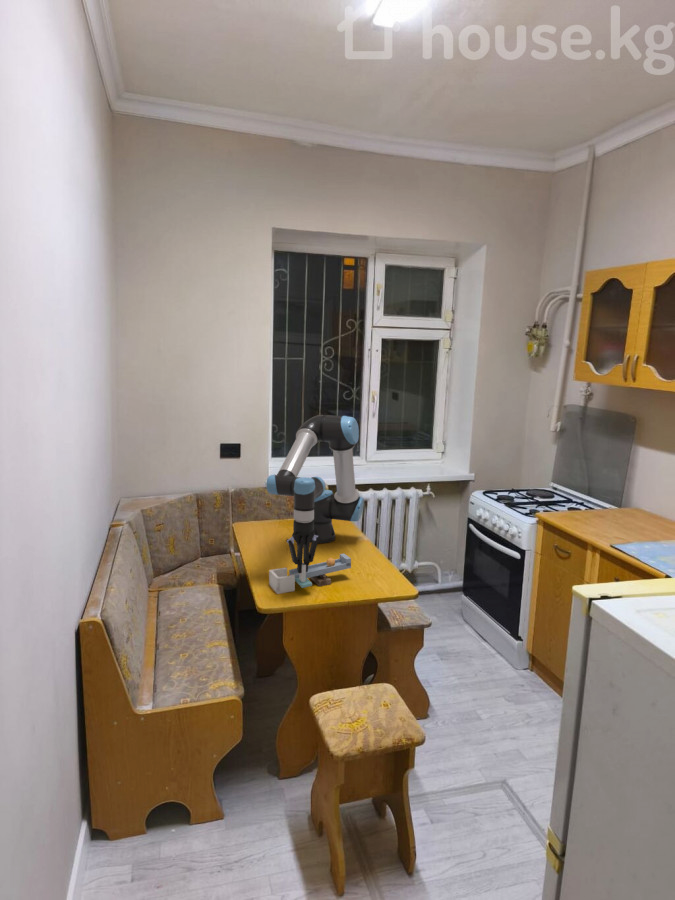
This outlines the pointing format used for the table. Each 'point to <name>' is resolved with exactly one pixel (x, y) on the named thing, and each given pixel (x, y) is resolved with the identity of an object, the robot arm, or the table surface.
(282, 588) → the bin
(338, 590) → the table surface
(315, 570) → the lever
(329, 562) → the ball
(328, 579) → the brown recessed block
